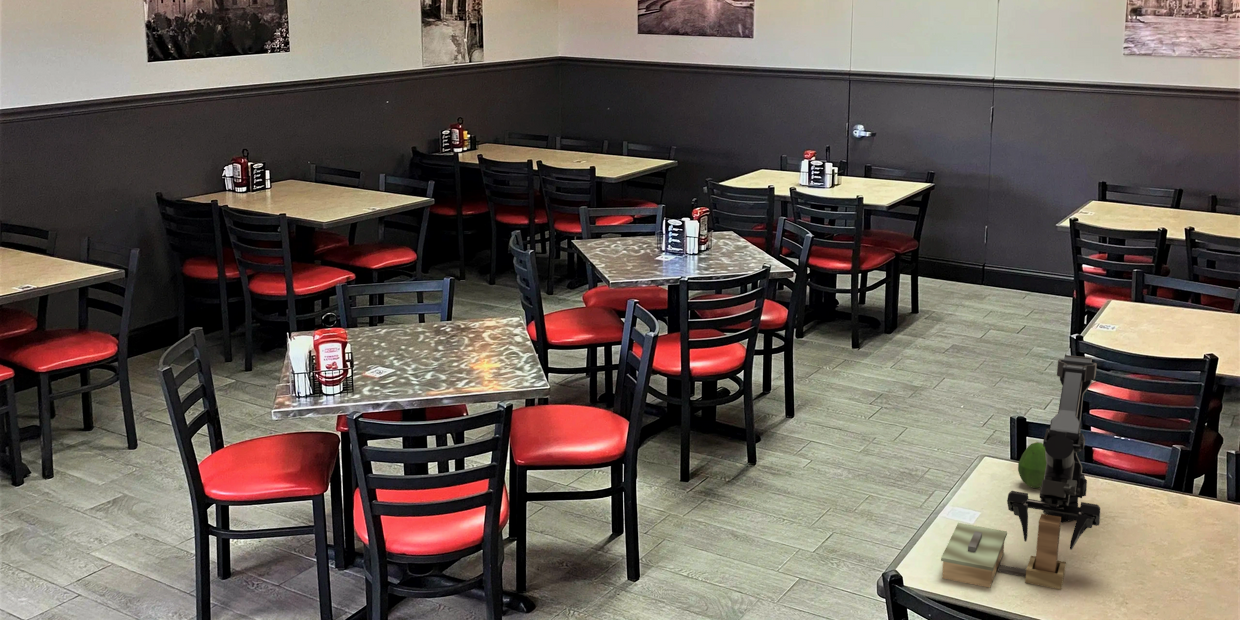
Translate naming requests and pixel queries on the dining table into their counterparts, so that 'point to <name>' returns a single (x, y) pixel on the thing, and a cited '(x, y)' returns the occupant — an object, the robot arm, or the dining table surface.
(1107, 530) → the dining table surface
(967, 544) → the wooden box with frame
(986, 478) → the dining table surface
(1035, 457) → the avocado
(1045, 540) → the brown wooden block
